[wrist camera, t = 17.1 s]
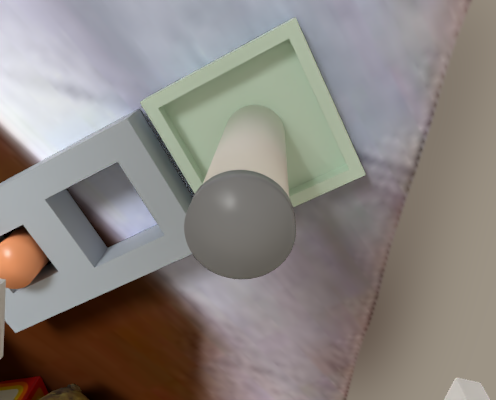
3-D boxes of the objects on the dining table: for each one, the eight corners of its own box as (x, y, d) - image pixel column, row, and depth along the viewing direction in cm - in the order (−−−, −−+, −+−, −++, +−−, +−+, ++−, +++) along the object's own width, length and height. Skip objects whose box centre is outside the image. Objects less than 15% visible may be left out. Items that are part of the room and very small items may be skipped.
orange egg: (0, 237, 42) (-25, 258, 38) (35, 219, 41) (13, 239, 37) (27, 271, 43) (6, 295, 40) (62, 255, 42) (44, 278, 39)
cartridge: (216, 157, 39) (176, 266, 23) (229, 95, 37) (194, 167, 21) (278, 171, 39) (280, 289, 23) (294, 110, 37) (308, 193, 21)
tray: (146, 97, 37) (139, 102, 36) (294, 17, 35) (295, 18, 33) (223, 228, 42) (221, 239, 40) (361, 166, 39) (365, 174, 37)
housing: (-49, 209, 42) (-75, 226, 39) (139, 108, 38) (126, 118, 35) (33, 309, 46) (15, 332, 43) (211, 228, 42) (206, 247, 39)
